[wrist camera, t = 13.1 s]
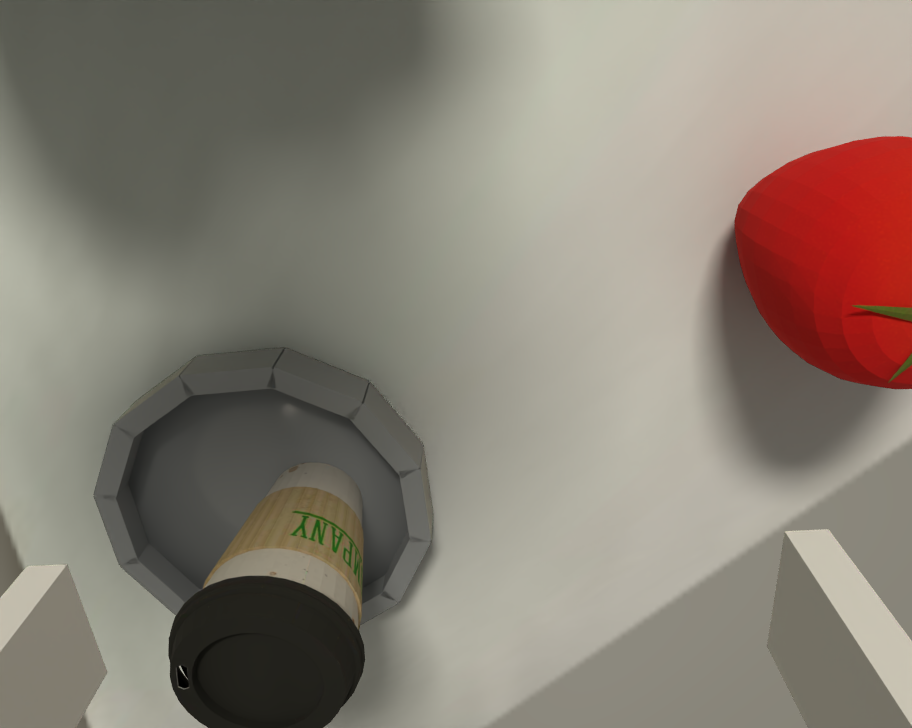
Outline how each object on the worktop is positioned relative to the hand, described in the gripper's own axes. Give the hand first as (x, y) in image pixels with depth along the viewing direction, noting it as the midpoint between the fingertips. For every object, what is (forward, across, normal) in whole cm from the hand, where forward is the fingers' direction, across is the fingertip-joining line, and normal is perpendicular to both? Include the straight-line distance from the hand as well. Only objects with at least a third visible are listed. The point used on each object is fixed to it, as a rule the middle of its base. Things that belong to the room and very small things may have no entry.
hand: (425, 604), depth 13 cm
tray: (+30, -14, -18) cm, 38 cm away
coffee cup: (+29, -10, -18) cm, 36 cm away
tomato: (+31, +21, -2) cm, 37 cm away
